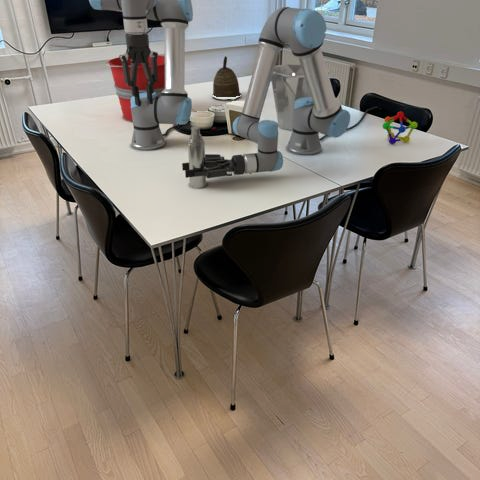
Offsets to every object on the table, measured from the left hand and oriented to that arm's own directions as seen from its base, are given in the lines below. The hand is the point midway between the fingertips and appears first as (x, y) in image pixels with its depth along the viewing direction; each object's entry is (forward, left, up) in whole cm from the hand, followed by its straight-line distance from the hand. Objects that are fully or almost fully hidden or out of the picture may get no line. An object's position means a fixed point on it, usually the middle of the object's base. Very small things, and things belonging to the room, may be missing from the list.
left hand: (144, 104), depth 159 cm
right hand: (+5, +14, -23) cm, 27 cm away
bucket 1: (-82, -28, -29) cm, 92 cm away
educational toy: (-55, +103, -29) cm, 120 cm away
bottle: (+3, +19, -29) cm, 35 cm away
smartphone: (-19, +20, -29) cm, 40 cm away
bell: (-128, +11, -29) cm, 132 cm away
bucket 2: (-76, +55, -29) cm, 98 cm away
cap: (0, 0, +1) cm, 1 cm away
